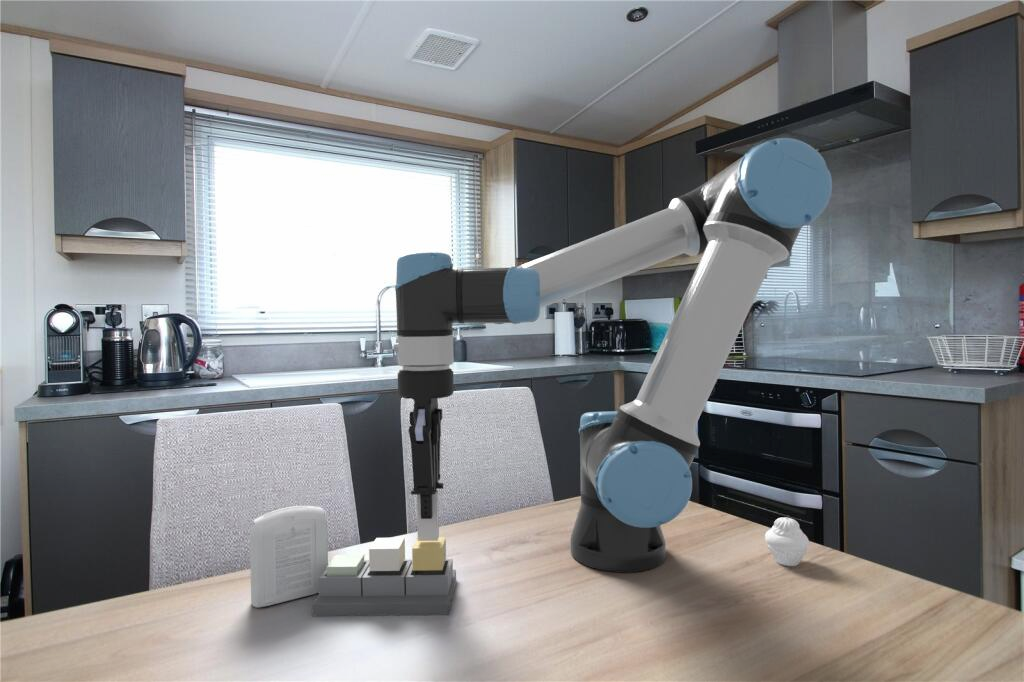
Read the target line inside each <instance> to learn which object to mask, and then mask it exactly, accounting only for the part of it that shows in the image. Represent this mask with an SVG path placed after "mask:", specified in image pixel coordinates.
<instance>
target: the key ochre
mask: <svg viewBox="0 0 1024 682" xmlns="http://www.w3.org/2000/svg"><path fill="white" fill-rule="evenodd" d="M411 550H412V552H411V554H412V557H411V558H412V559H411V560H412V562H413V571H419V570H443V567H444V563H445V560H446V559H447V537H446V536H439V538H438V541H418V536H417V538H416V540H415V541H414V543H413V546H412V549H411Z"/></svg>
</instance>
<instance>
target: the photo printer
mask: <svg viewBox="0 0 1024 682" xmlns="http://www.w3.org/2000/svg"><path fill="white" fill-rule="evenodd" d="M328 534H329V533H328V519H327V516H326V511H325V509H323V507H321V506H314V505H295V506H287V507H282V508H277V509H275V510H272V511H269V512H267V513H264V514H262V515H260V516H259V517H258V516H257V517H256V518H254V519H253V520H252V522H251V529H250V533H249V549H250V551H249V552H250V553H249V559H250V560H249V562H250V567H249V568H250V603H251V604H250V605H252V607H254V608H263V607H269V606H272V605H276V604H280V603H281V604H282V603H284V602H288V601H292V600H296V599H300V598H304V597H307V596H312V595H315V594H319V577H320V576H321V574H322V573H323V572H324V571H325V569H326V568H327V566H328V564H329V548H328V545H329V544H328V542H329V539H328Z"/></svg>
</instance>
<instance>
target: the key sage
mask: <svg viewBox="0 0 1024 682" xmlns="http://www.w3.org/2000/svg"><path fill="white" fill-rule="evenodd" d="M364 560H365V554H335V555H334V556H333V558H332V559H331V561H329V562H328V566H327V576H358V575H359V573H360V572H361V570H362V569H363V567H364Z"/></svg>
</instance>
